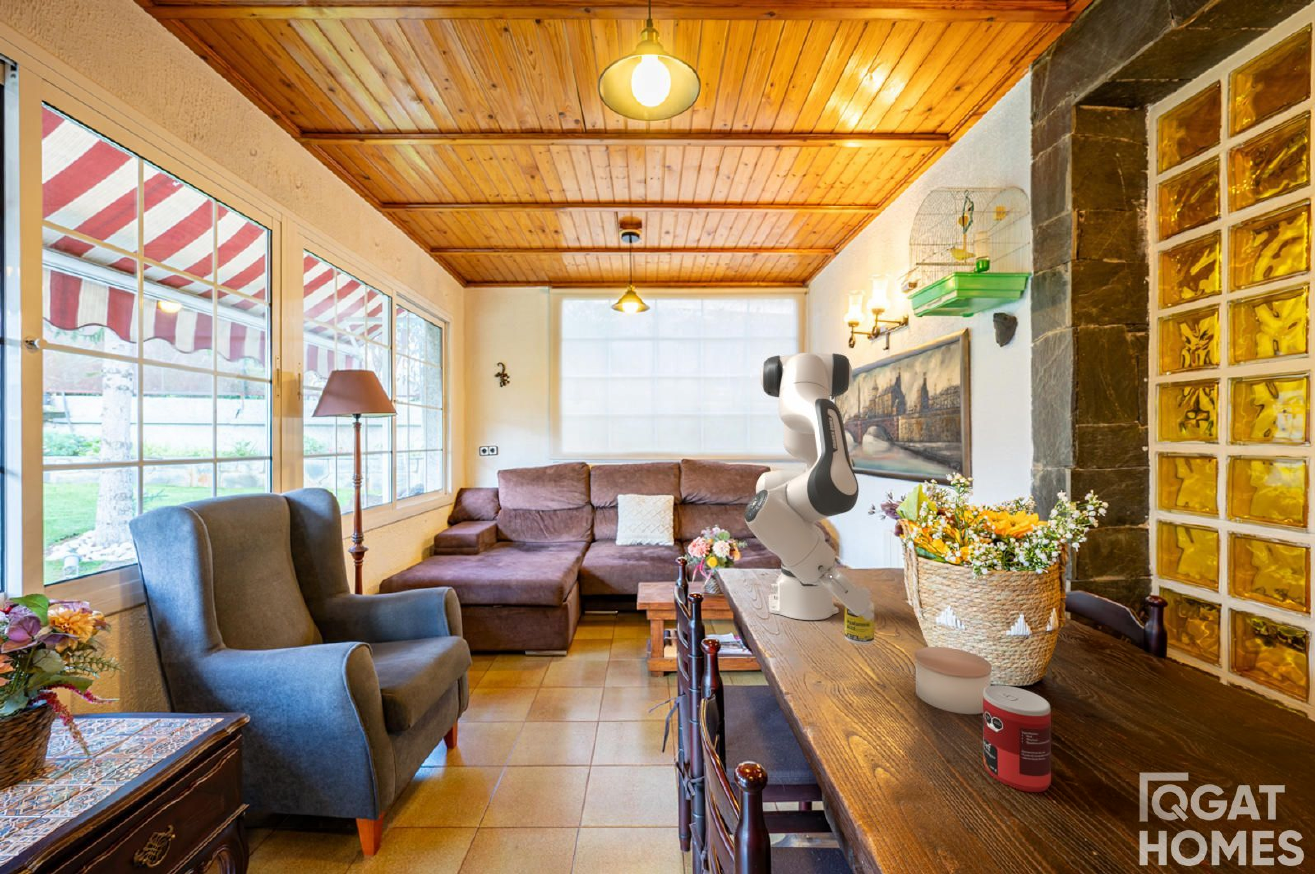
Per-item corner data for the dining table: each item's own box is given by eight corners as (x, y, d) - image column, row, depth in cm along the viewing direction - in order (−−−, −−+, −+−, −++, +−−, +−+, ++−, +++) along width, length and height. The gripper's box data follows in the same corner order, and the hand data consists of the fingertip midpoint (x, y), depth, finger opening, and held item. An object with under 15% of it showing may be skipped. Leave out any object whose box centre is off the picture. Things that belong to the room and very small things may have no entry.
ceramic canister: (902, 682, 105) (902, 646, 105) (965, 682, 105) (965, 646, 105) (936, 715, 92) (936, 674, 92) (1008, 714, 93) (1007, 674, 93)
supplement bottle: (842, 642, 103) (842, 591, 103) (846, 632, 108) (846, 584, 108) (872, 647, 100) (872, 595, 100) (875, 637, 105) (875, 587, 105)
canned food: (987, 752, 81) (987, 679, 81) (1053, 773, 76) (1052, 695, 76) (978, 777, 75) (978, 698, 75) (1049, 801, 70) (1048, 717, 70)
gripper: (843, 562, 93) (899, 618, 94) (808, 538, 114) (854, 584, 114) (817, 588, 93) (873, 643, 94) (787, 559, 114) (833, 605, 114)
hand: (862, 610), depth 104 cm, fingers closed on supplement bottle, 5 cm apart
